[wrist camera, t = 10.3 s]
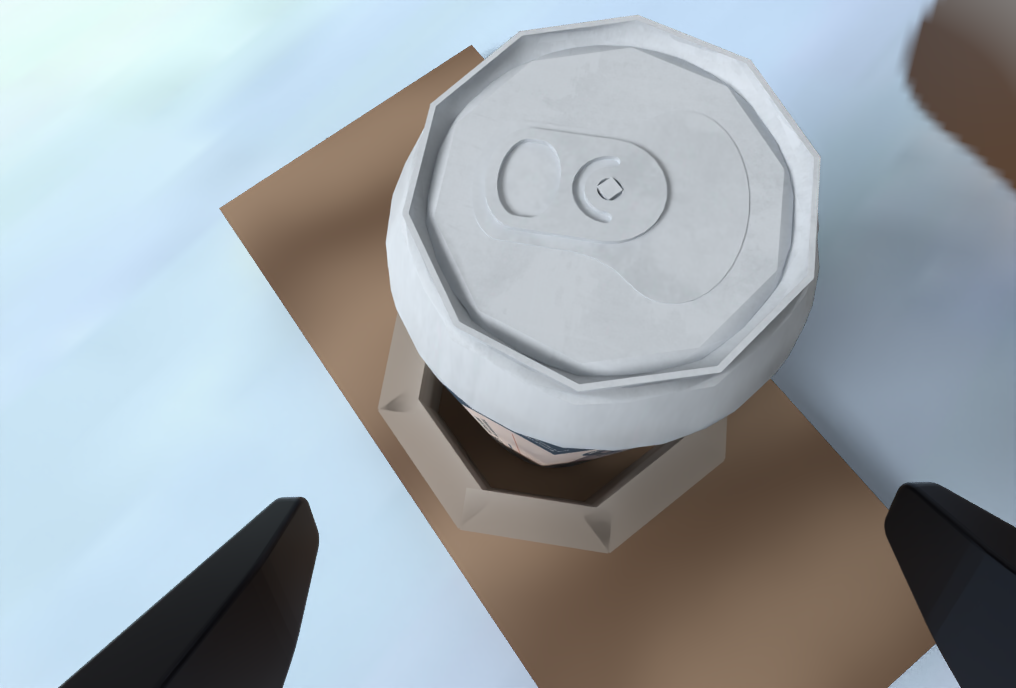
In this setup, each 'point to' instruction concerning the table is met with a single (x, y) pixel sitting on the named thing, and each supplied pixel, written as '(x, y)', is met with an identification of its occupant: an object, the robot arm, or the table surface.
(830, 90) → the table surface
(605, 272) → the beer can
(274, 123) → the table surface
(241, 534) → the robot arm
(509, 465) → the socket board
